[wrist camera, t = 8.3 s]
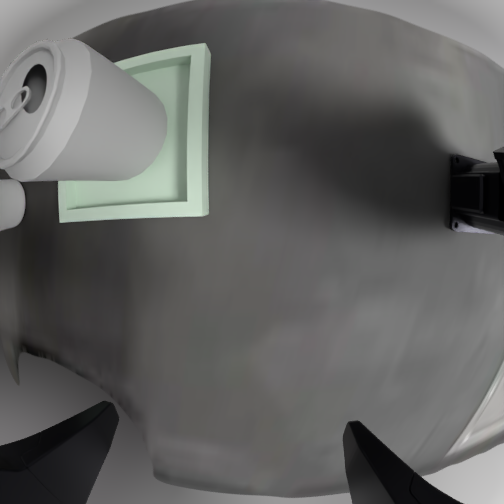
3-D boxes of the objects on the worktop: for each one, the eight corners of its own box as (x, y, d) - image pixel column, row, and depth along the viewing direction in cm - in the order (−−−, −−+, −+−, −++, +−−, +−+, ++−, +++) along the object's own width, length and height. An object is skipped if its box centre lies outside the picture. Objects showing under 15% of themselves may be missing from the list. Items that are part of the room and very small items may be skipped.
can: (188, 148, 18) (84, 101, 6) (110, 199, 19) (-12, 215, 8) (151, 74, 17) (60, 1, 5) (82, 126, 18) (-26, 103, 6)
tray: (211, 54, 17) (205, 42, 15) (208, 213, 20) (202, 216, 18) (79, 85, 18) (67, 80, 16) (73, 219, 21) (59, 222, 19)
